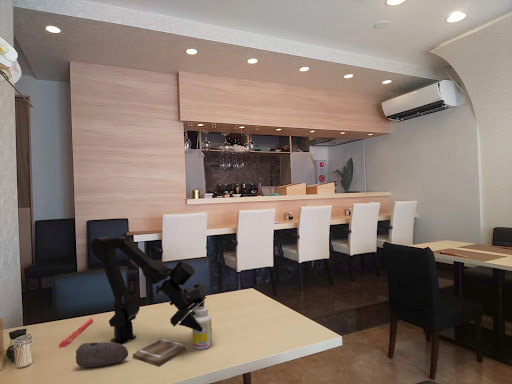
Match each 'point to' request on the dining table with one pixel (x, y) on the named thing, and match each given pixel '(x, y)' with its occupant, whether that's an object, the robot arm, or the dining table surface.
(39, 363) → the dining table surface
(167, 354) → the seat plate
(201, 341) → the supplement bottle
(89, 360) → the perforated stone tool
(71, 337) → the chopstick
